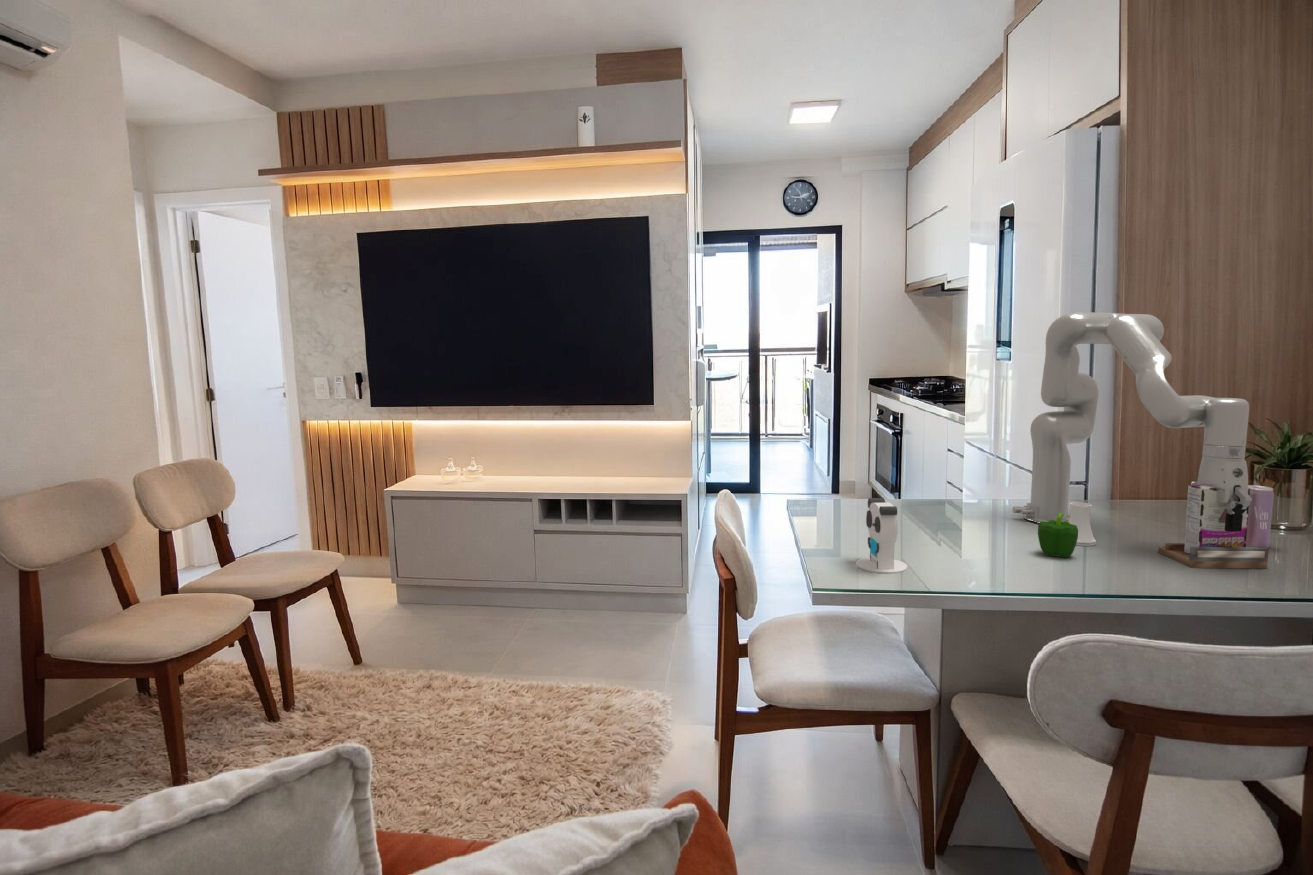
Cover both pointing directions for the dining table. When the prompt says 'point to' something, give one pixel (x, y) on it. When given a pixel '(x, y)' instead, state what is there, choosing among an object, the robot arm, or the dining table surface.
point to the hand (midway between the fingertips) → (1217, 525)
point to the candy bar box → (1209, 521)
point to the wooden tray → (1217, 556)
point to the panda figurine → (881, 538)
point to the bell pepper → (1057, 537)
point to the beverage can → (1259, 516)
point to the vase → (1082, 522)
